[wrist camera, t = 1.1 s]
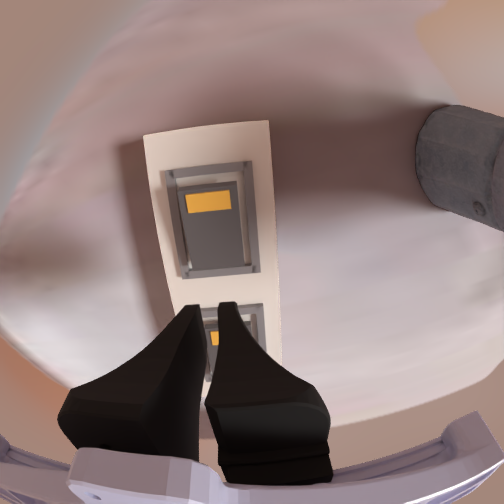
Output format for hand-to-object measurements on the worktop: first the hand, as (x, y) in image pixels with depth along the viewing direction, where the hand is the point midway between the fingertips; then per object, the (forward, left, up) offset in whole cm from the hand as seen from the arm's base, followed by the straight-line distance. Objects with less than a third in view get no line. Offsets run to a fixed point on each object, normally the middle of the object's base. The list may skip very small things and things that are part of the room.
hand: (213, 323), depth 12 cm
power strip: (-2, 0, -9) cm, 10 cm away
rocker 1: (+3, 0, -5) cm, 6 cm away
